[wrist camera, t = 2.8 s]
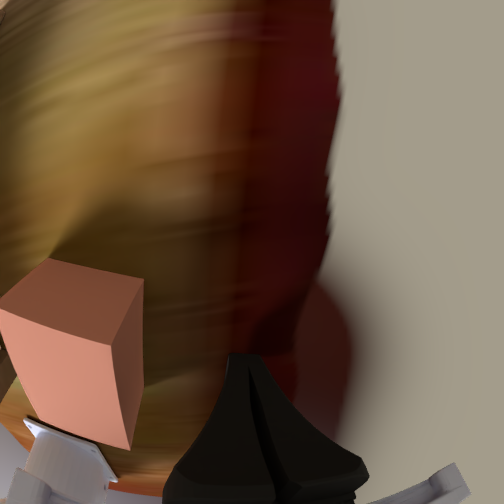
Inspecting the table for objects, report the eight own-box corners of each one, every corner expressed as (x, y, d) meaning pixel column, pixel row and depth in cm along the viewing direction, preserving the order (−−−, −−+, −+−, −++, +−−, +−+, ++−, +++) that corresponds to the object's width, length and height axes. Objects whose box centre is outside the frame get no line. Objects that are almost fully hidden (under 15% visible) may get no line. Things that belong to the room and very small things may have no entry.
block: (144, 385, 13) (130, 450, 9) (67, 364, 12) (40, 419, 8) (144, 277, 11) (110, 345, 7) (49, 256, 10) (-8, 305, 6)
